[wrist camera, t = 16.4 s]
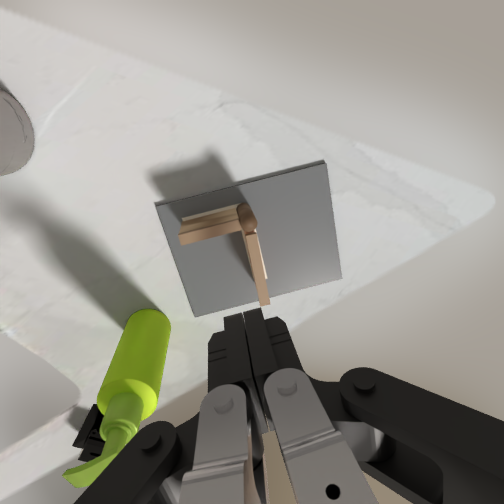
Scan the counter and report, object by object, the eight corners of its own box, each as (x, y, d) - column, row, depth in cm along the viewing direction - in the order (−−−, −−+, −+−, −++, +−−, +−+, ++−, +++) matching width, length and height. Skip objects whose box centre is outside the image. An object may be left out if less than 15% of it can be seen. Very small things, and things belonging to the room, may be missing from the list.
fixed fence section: (185, 231, 41) (181, 249, 35) (181, 218, 40) (176, 233, 34) (252, 214, 41) (259, 229, 35) (249, 200, 40) (255, 213, 35)
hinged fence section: (241, 221, 41) (245, 236, 36) (250, 219, 41) (256, 233, 36) (254, 284, 44) (260, 306, 39) (263, 282, 44) (270, 304, 39)
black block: (109, 458, 54) (100, 487, 50) (63, 447, 52) (50, 476, 48) (139, 405, 51) (132, 430, 47) (91, 391, 49) (80, 416, 45)
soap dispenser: (111, 324, 45) (42, 467, 26) (156, 301, 44) (118, 431, 26) (135, 354, 47) (88, 506, 28) (178, 333, 46) (159, 474, 28)
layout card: (195, 315, 46) (195, 317, 45) (156, 206, 39) (155, 206, 39) (341, 277, 46) (342, 278, 46) (325, 162, 40) (326, 163, 40)
